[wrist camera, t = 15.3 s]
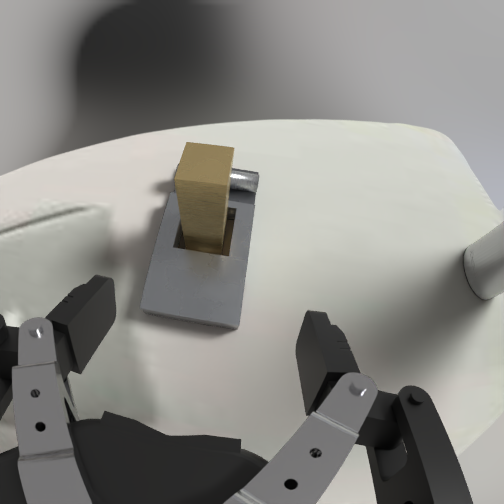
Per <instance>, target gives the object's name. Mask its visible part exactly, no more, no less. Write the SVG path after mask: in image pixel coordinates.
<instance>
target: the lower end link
mask: <svg viewBox="0 0 504 504" xmlns="http://www.w3.org/2000/svg"><path fill="white" fill-rule="evenodd" d="M178 166H179V164H178ZM178 166H177V169H178ZM177 169H176V172H177ZM258 182H259V175H258V172H252V171H246V170H240V169H234V168H232V172H231V181H230V190H229V200H228V201H235V202H241V203H247V204H253V205H254V203H255V195H256V192H257V187H258ZM174 193H176V187H175V190H174ZM235 216H236V214H230V213H227V219H231V220H235ZM181 233H182V224H181V228H180V232H179V235H178V239H177V243H176V248H178V245H179V241H180V237H181Z"/></svg>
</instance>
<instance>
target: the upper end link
mask: <svg viewBox="0 0 504 504" xmlns="http://www.w3.org/2000/svg"><path fill="white" fill-rule="evenodd" d="M254 209H255V205H253V204H247V203H241V202H235V201H228V209H227V213H230V214H236V216H235V222H234V228H233V234H232V240H231V246H230V252H229V256H223V255H217V254H210V253H204V252H198V251H192V250H186V249H179V248H176V243H177V239H178V235H179V232H180V228H181V218H180V212H179V206H178V200H177V194H176V193H173V192H171V193H170V196H169V199H168V202H167V206H166V209H165V212H164V215H163V219H162V222H161V225H160V229H159V232H158V236H157V239H156V243H155V247H154V250H153V254H152V258H151V262H150V266H149V270H148V274H147V278H146V282H145V286H144V290H143V295H142V299H141V304H140V309H141V310H142V311H143V312H144V313H146V314H150V315H155V316H160V317H165V318H170V319H176V320H181V321H187V322H192V323H198V324H204V325H210V326H217V327H223V328H230V329H238V327H239V324H240V316H241V308H242V300H243V293H244V285H245V277H246V270H247V262H248V254H249V247H250V239H251V231H252V224H253V216H254Z"/></svg>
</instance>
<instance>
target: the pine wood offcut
mask: <svg viewBox="0 0 504 504" xmlns="http://www.w3.org/2000/svg"><path fill="white" fill-rule="evenodd" d="M233 155H234V148H233V147H225V146H217V145H209V144H200V143H190V142H186V145H185V148H184V151H183V154H182V157H181V160H180V163H179V166H178V169H177V172H176V175H175V178H174V180H175V187H176V194H177V200H178V206H179V212H180V218H181V224H182V230H183V235H184V241H185V246H186V250H192V251H198V252H204V253H210V254H217V255H221V253H222V247H223V240H224V234H225V228H226V219H227V209H228V200H229V190H230V181H231V172H232V164H233Z"/></svg>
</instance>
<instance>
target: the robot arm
mask: <svg viewBox="0 0 504 504" xmlns="http://www.w3.org/2000/svg"><path fill="white" fill-rule="evenodd" d="M464 268H465V273H466V276H467V279H468V282H469V284H470V286H471V288H472V289H473V291H474V292H475V293H476V295H477V296H479V297H480V298H482V299H484V300H487V299H490V298H492V297H495V296H497V295H499V294H501V293H503V292H504V222H502V223H501V224H500V225H498V226H497V227H496V228H494V229H493V230H492V231H490V232H489V233H487V234H486V235H484V236H483V237H482V238H480V239H479V240H477V241H476V242H474V243H473V244H471V245H470V246H469V247H468V248H467V249H466V251H465V254H464ZM115 317H116V302H115V289H114V281H113V279H112V278H109V277H104V276H99V275H95V276H94V277H93V278H92V279H91V280H90V281H89V282H88V283H87V284H82V285H80V286H78V287H76V288H74V289H73V290H72V291H71V292H70V293H69V294H68V296H66V297H65V298H64V299H63V300H62V302H60V303H59V304H58V305H57V306H56V307H55V308H54V309H53V310H52V311H51V312H50V313H49V314H48V315H47V316H46V317H45V318H41V317H37V318H31V319H29V320H27V321H25V322H24V323H23V324H22V325H21V326H20V328H19V327H10V326H6V323H5V320H4V317H3V316H2V315H1V314H0V420H1V418H2V416H3V414H4V413H5V411H6V409H7V407H8V406H9V404H10V402H11V401H12V399H13V406H14V417H15V426H16V433H17V440H18V447H15V448H13V449H11V450H8V451H6V452H3V453H1V454H0V504H316V503H317V501H318V500H319V499H320V497H321V496H322V494H323V493H324V491H325V490H326V489H327V487H328V486H329V484H330V483H331V481H332V480H333V478H334V477H335V475H336V474H337V472H338V470H339V469H340V467H341V466H342V464H343V462H344V461H345V459H346V457H347V456H348V454H349V452H350V451H351V449H352V447H353V445H354V444H359V445H364V446H366V449H367V454H368V459H369V463H370V468H371V473H372V478H373V483H374V489H375V494H376V500H377V504H473V501H472V498H471V495H470V492H469V490H468V486H467V483H466V481H465V478H464V475H463V472H462V470H461V467H460V464H459V462H458V459H457V457H456V454H455V452H454V449H453V447H452V444H451V442H450V439H449V437H448V435H447V432H446V430H445V428H444V426H443V423H442V421H441V419H440V417H439V414H438V412H437V410H436V408H435V406H434V404H433V402H432V399H431V398H430V396H429V395H428V393H427V392H426V391H424V390H423V389H421V388H419V387H416V386H405V387H403V388H402V389H401V390H400V392H399V393H398V395H396V394H391V393H387V392H382V391H379V390H378V389H377V386H376V384H375V383H374V381H373V380H372V379H370V378H369V377H367V376H366V375H363V374H360V371H359V369H358V366H357V364H356V361H355V359H354V356H353V354H352V351H350V346H349V344H348V343H347V339H346V337H345V334H344V333H343V332H342V331H341V330H340V329H339V328H338V327H337V326H336V325H331V324H330V321H329V319H328V316H327V314H326V312H318V311H309V310H308V311H307V312H306V314H305V317H304V320H303V323H302V326H301V330H300V333H299V336H298V339H297V343H296V359H297V364H298V370H299V376H300V382H301V388H302V394H303V400H304V406H305V412H306V416H309V417H308V418H307V420H306V421H305V422H304V423H303V424H302V426H301V427H300V428H299V429H298V430H297V432H296V433H295V434H294V435H293V436H292V437H291V439H290V440H289V441H288V442H287V443H286V444H285V445H284V447H283V448H282V449H281V450H280V451H279V452H278V453H277V454H276V455H275V456H274V457H273V459H272V460H271V461H270V462H268V461H266V460H265V459H263V458H262V457H260V456H258V455H256V454H254V453H252V452H250V451H247V450H244V449H241V439H233V438H225V437H217V436H210V435H192V436H169V435H165V434H163V433H161V432H159V431H157V430H154V429H152V428H150V427H148V426H146V425H144V424H142V423H140V422H138V421H136V420H134V419H130V418H126V417H123V416H120V415H116V414H113V413H110V412H107V411H104V414H103V416H102V418H101V419H85V420H80V419H79V416H78V413H77V409H76V406H75V402H74V398H73V394H72V390H71V386H70V381H69V378H68V374H69V372H70V371H73V372H76V373H79V374H81V373H82V372H83V370H84V368H85V367H86V365H87V363H88V362H89V360H90V359H91V357H92V355H93V354H94V352H95V351H96V349H97V348H98V346H99V345H100V343H101V341H102V340H103V338H104V337H105V335H106V334H107V332H108V331H109V329H110V328H111V326H112V325H113V323H114V321H115ZM403 442H404V443H403ZM404 445H405V446H404ZM405 448H406V449H405ZM406 451H407V452H406Z"/></svg>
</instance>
